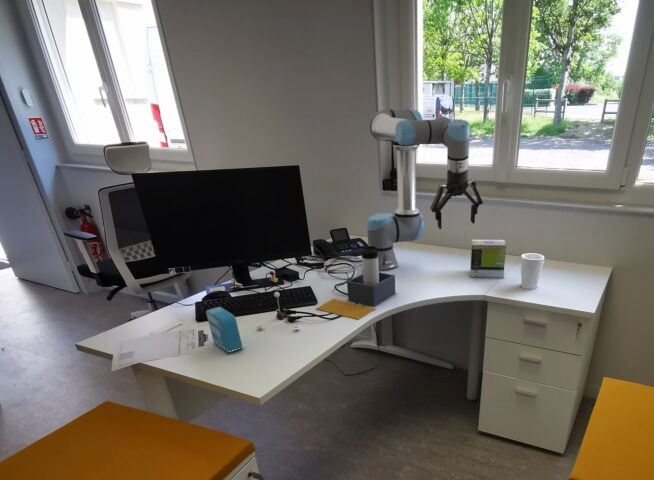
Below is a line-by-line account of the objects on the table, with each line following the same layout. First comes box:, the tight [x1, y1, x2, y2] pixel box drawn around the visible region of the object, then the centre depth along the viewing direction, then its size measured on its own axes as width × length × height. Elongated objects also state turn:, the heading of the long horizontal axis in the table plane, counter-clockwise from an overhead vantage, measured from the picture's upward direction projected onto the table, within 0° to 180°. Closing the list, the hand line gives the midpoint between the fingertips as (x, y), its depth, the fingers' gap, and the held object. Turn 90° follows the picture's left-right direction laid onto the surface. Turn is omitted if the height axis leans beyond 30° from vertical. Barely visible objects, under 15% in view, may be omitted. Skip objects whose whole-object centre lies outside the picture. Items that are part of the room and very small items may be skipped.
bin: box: [346, 271, 396, 308], centre depth 183 cm, size 13×16×8 cm
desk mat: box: [315, 298, 376, 321], centre depth 174 cm, size 20×11×1 cm, turn 61°
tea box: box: [469, 239, 507, 278], centre depth 204 cm, size 15×10×15 cm
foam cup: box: [520, 252, 545, 290], centre depth 191 cm, size 10×9×13 cm
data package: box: [205, 306, 243, 354], centre depth 145 cm, size 12×4×12 cm, turn 45°
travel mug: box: [361, 246, 380, 286], centre depth 180 cm, size 6×7×20 cm
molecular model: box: [256, 291, 301, 332], centre depth 158 cm, size 13×15×13 cm
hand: (456, 224), depth 178 cm, fingers open, 13 cm apart
